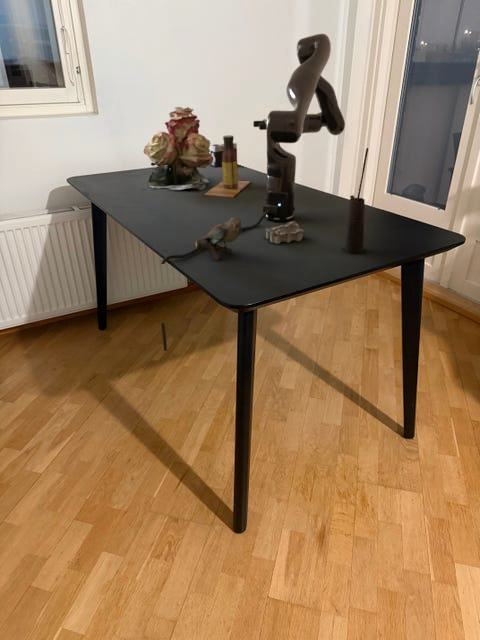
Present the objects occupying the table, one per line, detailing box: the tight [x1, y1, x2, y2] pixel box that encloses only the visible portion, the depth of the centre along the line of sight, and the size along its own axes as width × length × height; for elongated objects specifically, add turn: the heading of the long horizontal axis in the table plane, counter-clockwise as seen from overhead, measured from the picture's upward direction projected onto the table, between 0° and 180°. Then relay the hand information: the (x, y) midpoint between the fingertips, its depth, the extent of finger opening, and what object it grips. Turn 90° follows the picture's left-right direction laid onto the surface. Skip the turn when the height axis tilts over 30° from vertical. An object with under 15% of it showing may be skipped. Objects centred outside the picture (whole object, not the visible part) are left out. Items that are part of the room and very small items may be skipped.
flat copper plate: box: [204, 180, 251, 199], centre depth 190 cm, size 24×12×1 cm, turn 163°
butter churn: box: [344, 147, 369, 255], centre depth 125 cm, size 9×10×28 cm
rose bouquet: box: [143, 106, 213, 191], centre depth 191 cm, size 26×29×30 cm
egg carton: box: [264, 220, 305, 245], centre depth 139 cm, size 11×8×4 cm
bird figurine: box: [195, 216, 243, 261], centre depth 126 cm, size 13×10×20 cm
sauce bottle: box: [221, 134, 239, 188], centre depth 186 cm, size 7×6×20 cm
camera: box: [209, 142, 238, 168], centre depth 230 cm, size 14×8×10 cm, turn 131°
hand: (256, 125), depth 181 cm, fingers open, 8 cm apart
